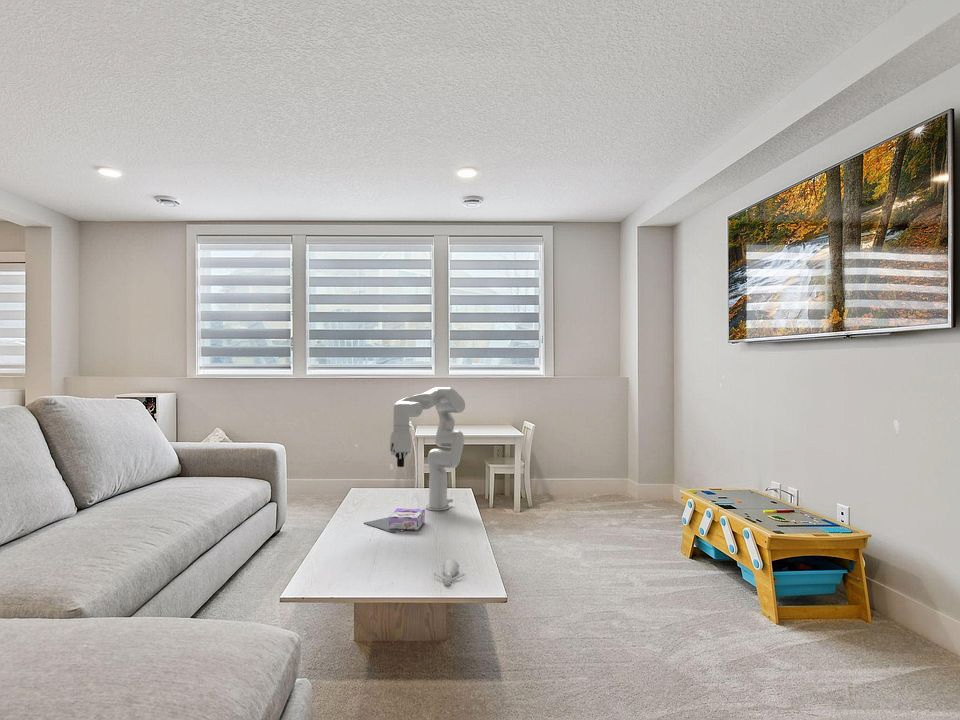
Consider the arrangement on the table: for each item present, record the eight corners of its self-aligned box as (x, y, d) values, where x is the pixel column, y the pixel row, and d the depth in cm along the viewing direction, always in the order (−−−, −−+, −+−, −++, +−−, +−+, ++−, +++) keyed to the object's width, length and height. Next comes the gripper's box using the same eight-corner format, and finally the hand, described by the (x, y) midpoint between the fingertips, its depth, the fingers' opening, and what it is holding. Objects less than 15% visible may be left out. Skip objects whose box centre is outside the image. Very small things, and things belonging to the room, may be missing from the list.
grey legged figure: (467, 557, 219) (464, 577, 201) (466, 569, 219) (464, 590, 201) (435, 556, 219) (430, 576, 202) (435, 568, 220) (430, 589, 202)
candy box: (425, 509, 285) (418, 517, 268) (424, 521, 285) (418, 530, 268) (397, 507, 286) (388, 516, 270) (396, 520, 286) (388, 529, 270)
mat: (391, 517, 293) (391, 516, 293) (420, 526, 278) (420, 525, 278) (363, 523, 280) (363, 522, 280) (392, 533, 265) (392, 531, 265)
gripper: (408, 426, 291) (407, 464, 291) (383, 428, 280) (383, 467, 280) (418, 428, 286) (417, 465, 286) (393, 430, 275) (393, 469, 275)
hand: (400, 466), depth 283 cm, fingers closed
